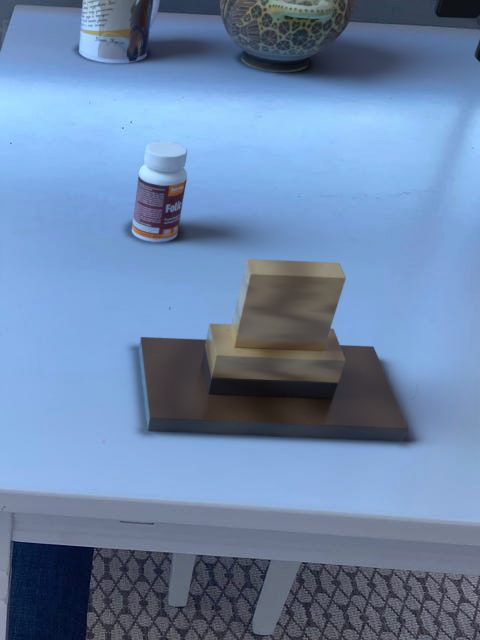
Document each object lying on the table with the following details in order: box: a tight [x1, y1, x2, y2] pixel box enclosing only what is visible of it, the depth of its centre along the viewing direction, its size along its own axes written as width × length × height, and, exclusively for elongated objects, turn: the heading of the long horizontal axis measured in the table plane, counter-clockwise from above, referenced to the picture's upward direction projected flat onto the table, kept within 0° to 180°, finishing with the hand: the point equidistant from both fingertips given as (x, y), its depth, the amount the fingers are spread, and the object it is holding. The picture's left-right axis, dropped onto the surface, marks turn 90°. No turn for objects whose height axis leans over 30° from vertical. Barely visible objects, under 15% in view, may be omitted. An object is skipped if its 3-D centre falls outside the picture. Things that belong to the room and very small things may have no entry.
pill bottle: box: [131, 140, 188, 243], centre depth 94 cm, size 5×5×8 cm
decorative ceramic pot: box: [219, 0, 356, 73], centre depth 129 cm, size 24×18×15 cm
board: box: [138, 336, 409, 442], centre depth 77 cm, size 20×12×2 cm, turn 88°
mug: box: [78, 0, 161, 64], centre depth 132 cm, size 10×12×11 cm
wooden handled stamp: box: [202, 258, 347, 399], centre depth 73 cm, size 10×5×10 cm, turn 88°
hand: (476, 37), depth 64 cm, fingers open, 9 cm apart
